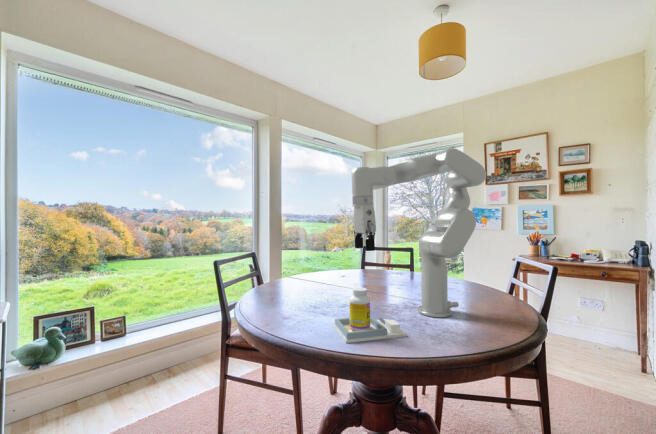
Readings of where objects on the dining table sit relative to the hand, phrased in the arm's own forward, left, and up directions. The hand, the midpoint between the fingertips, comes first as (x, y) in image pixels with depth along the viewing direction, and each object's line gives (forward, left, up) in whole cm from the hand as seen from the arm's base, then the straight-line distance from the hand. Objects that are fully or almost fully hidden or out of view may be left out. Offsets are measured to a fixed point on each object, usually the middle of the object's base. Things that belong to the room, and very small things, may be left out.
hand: (364, 249), depth 105 cm
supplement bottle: (+5, +9, -25) cm, 27 cm away
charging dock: (+3, +10, -26) cm, 27 cm away
